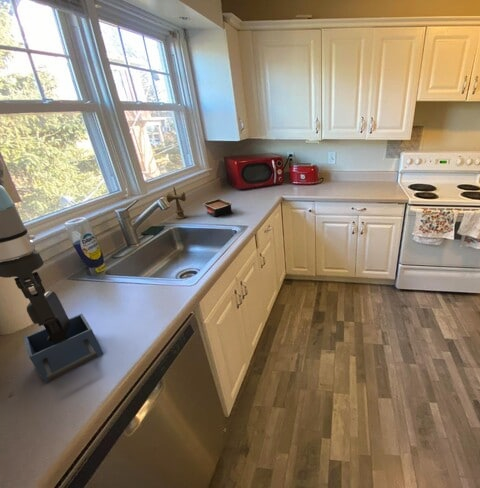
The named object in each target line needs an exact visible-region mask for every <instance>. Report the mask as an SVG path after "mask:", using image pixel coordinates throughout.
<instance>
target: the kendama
mask: <svg viewBox="0 0 480 488" xmlns="http://www.w3.org/2000/svg"><path fill="white" fill-rule="evenodd" d="M172 189H173V193H171V192H166V194H165V199H166V201H167V203H172V202H174V200H175V204H176V210H175V213H176V219H177V220H183V219H185V218H186V216H187V215H185V214H184V212H185V211H184V209H183V208H182V206H181V204H180V201H181V202H186V200H187V197H186V193H185V192H184V191H182V192H180V193H179V194H177V191H176V188H175V186H173V187H172Z"/></svg>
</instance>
